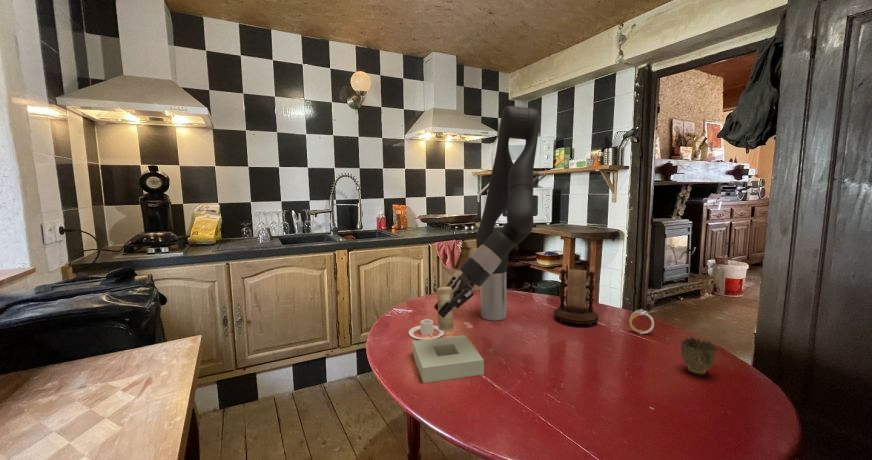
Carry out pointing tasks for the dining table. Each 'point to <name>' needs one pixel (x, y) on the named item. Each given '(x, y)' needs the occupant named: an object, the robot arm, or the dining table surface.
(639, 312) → the ring
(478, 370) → the square hole plate
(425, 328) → the candle holder
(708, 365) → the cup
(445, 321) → the birch peg
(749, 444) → the dining table surface
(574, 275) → the scroll
